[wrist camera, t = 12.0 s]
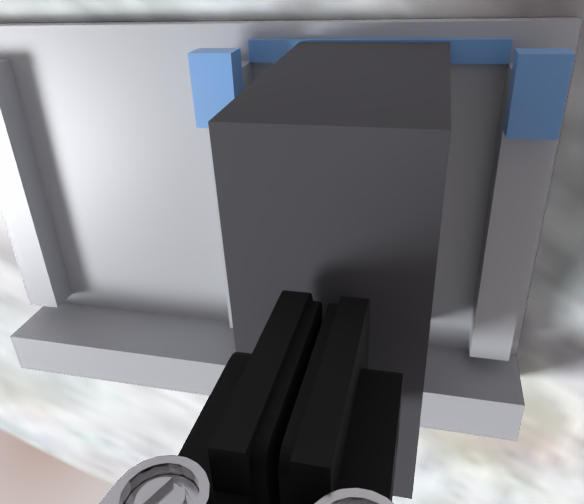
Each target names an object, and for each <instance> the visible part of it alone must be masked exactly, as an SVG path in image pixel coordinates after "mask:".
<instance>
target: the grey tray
mask: <svg viewBox="0 0 584 504" xmlns="http://www.w3.org/2000/svg"><path fill="white" fill-rule="evenodd" d="M582 21H583V20H581V19H580V18H578V17H565V18H472V19H379V20H286V21H193V22H100V23H7V24H0V209H1V212H2V215H3V219H4V222H5V225H6V228H7V231H8V234H9V238H10V241H11V244H12V247H13V250H14V254H15V257H16V260H17V263H18V266H19V269H20V273H21V276H22V279H23V282H24V285H25V289H26V292H27V295H28V298H29V301H30V304H31V305H39V306H43V307H42V308H41V309H40V310H39V311H38V312H37V313H36V314H34V315H33V316H32V317H31V318H30V319H29V320H28V321H27V322H26V323H25V324H24V325H22V326H21V327H20V328H19V329H18V330H17V331H16V332H15V333H14V334H13V335H11V336H10V337H11V340H12V343H13V346H14V349H15V351H16V354H17V357H18V360H19V363H20V366H21V368H26V369H33V370H39V371H46V372H53V373H60V374H66V375H73V376H80V377H87V378H93V379H100V380H107V381H114V382H120V383H127V384H134V385H141V386H147V387H154V388H161V389H168V390H174V391H181V392H188V393H195V394H201V395H208V396H210V394H211V392H212V390H213V389H214V387H215V385H216V383H217V381H218V379H219V377H220V375H221V373H222V372H223V370H224V368H225V366H226V364H227V362H228V360H229V358H230V357H231V356H232V354H233V353H235V352H236V347H235V339H234V331H233V323H232V315H231V306H230V298H229V290H228V282H227V273H226V265H225V257H224V249H223V240H222V232H221V224H220V216H219V208H218V199H217V191H216V183H215V175H214V166H213V158H212V150H211V142H210V134H209V125H208V121H209V120H210V119H212V118H213V117H214V116H215V115H216V114H217V113H218V112H220V111H221V110H222V109H223V108H224V107H225V106H227V105H228V104H229V103H230V102H231V101H232V100H233V99H235V98H236V97H237V96H238V95H239V94H240V93H241V92H243V91H244V90H245V89H246V88H247V87H248V86H249V85H251V84H252V83H253V82H254V81H255V80H256V79H257V78H259V77H260V76H261V75H262V74H263V73H264V72H265V71H267V70H268V69H269V68H270V67H271V66H272V65H273V64H275V63H276V62H277V61H278V60H279V59H280V58H281V57H283V56H284V55H285V54H286V53H287V52H288V51H289V50H291V49H292V48H293V47H294V46H295V45H296V44H297V43H299V42H450V69H451V135H450V145H449V154H448V163H447V173H446V182H445V192H444V201H443V210H442V220H441V229H440V239H439V248H438V257H437V267H436V276H435V286H434V295H433V304H432V314H431V323H430V333H429V342H428V351H427V361H426V370H425V380H424V389H423V398H422V408H421V417H420V427H424V428H431V429H438V430H445V431H451V432H458V433H465V434H472V435H478V436H485V437H492V438H499V439H505V440H512V441H517V438H518V434H519V429H520V425H521V420H522V416H523V411H524V406H525V404H524V398H523V392H522V386H521V380H520V374H519V368H518V362H517V356H516V354H517V349H518V344H519V339H520V334H521V329H522V324H523V319H524V314H525V309H526V304H527V299H528V294H529V289H530V284H531V278H532V273H533V268H534V263H535V258H536V253H537V248H538V243H539V238H540V233H541V228H542V223H543V218H544V213H545V208H546V203H547V198H548V193H549V188H550V183H551V178H552V173H553V168H554V162H555V157H556V152H557V147H558V142H559V137H560V132H561V127H562V122H563V117H564V112H565V107H566V102H567V97H568V92H569V87H570V82H571V77H572V72H573V67H574V62H575V57H576V51H577V46H578V41H579V36H580V31H581V26H582Z"/></svg>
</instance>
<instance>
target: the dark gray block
mask: <svg viewBox="0 0 584 504" xmlns="http://www.w3.org/2000/svg"><path fill="white" fill-rule="evenodd" d="M208 125H209V134H210V142H211V150H212V158H213V166H214V175H215V183H216V191H217V199H218V208H219V216H220V224H221V232H222V240H223V249H224V257H225V265H226V273H227V282H228V290H229V298H230V306H231V315H232V323H233V331H234V339H235V347H236V352H244V353H251V354H252V352H253V350H254V348H255V346H256V344H257V342H258V340H259V338H260V336H261V334H262V332H263V329H264V327H265V325H266V323H267V321H268V319H269V317H270V315H271V313H272V311H273V309H274V307H275V304H276V302H277V300H278V298H279V296H280V294H281V292H282V291H283V290H287V291H297V292H307V293H311V294H312V297H313V301H321V302H322V322H323V319H324V316H325V313H326V310H327V307H328V304H329V303H330V302H331V303H339V300H340V297H341V296H346V297H356V298H365V299H370V325H369V351H368V369H374V370H382V371H389V372H397V373H403V388H402V401H401V414H400V425H399V436H398V447H397V457H396V466H395V476H394V486H393V496H399V497H404V498H410V499H412V492H413V483H414V474H415V464H416V455H417V445H418V436H419V427H420V417H421V408H422V398H423V389H424V380H425V370H426V361H427V351H428V342H429V333H430V323H431V314H432V304H433V295H434V286H435V276H436V267H437V257H438V248H439V239H440V229H441V220H442V210H443V201H444V192H445V182H446V173H447V163H448V154H449V145H450V135H451V69H450V42H299V43H297V44H296V45H295V46H294V47H293V48H292V49H291V50H289V51H288V52H287V53H286V54H285V55H284V56H283V57H281V58H280V59H279V60H278V61H277V62H276V63H275V64H273V65H272V66H271V67H270V68H269V69H268V70H267V71H265V72H264V73H263V74H262V75H261V76H260V77H259V78H257V79H256V80H255V81H254V82H253V83H252V84H251V85H249V86H248V87H247V88H246V89H245V90H244V91H243V92H241V93H240V94H239V95H238V96H237V97H236V98H235V99H233V100H232V101H231V102H230V103H229V104H228V105H227V106H225V107H224V108H223V109H222V110H221V111H220V112H218V113H217V114H216V115H215V116H214V117H213V118H212V119H210V120H209V121H208Z"/></svg>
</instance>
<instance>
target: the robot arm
mask: <svg viewBox="0 0 584 504" xmlns="http://www.w3.org/2000/svg"><path fill="white" fill-rule="evenodd" d="M369 325H370V299H365V298H356V297H346V296H341V297H340V300H339V303H331V302H330V303H329V304H328V307H327V310H326V313H325V316H324V319H323V322H322V302H321V301H313V297H312V294H311V293H307V292H297V291H287V290H283V291H282V292H281V294H280V296H279V298H278V300H277V302H276V304H275V307H274V309H273V311H272V313H271V315H270V317H269V319H268V321H267V323H266V325H265V327H264V329H263V332H262V334H261V336H260V338H259V340H258V342H257V344H256V346H255V348H254V350H253V352H252V354H251V353H244V352H235V353H233V354H232V356H231V357H230V358H229V360H228V362H227V364H226V366H225V368H224V370H223V372H222V373H221V375H220V377H219V379H218V381H217V383H216V385H215V387H214V389H213V390H212V392H211V394H210V396H209V398H208V400H207V402H206V404H205V406H204V407H203V409H202V411H201V413H200V415H199V417H198V419H197V421H196V423H195V424H194V426H193V428H192V430H191V432H190V434H189V436H188V438H187V440H186V441H185V443H184V445H183V447H182V449H181V451H180V453H179V455H178V456H176V455H166V456H157V457H154V458H151V459H148V460H145V461H142V462H141V463H139V464H137V465H136V466H134V467H132V468H131V469H129V470H128V471H127V472H126V473H125V474H124V475H123V476H122V477H121V478H120V479H119V480H118V481H117V482H116V484H115V485H114V486H113V487H112V488H111V490H110V491H109V492H108V493H107V495H106V496H105V497H104V498H103V500H102V501H101V502H100V503H99V504H394V503H393V502H392V496H393V486H394V476H395V466H396V457H397V447H398V436H399V425H400V414H401V401H402V388H403V373H397V372H389V371H382V370H374V369H368V351H369Z"/></svg>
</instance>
